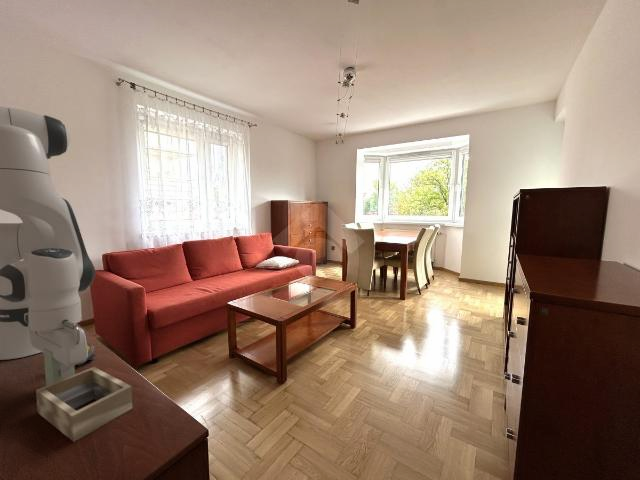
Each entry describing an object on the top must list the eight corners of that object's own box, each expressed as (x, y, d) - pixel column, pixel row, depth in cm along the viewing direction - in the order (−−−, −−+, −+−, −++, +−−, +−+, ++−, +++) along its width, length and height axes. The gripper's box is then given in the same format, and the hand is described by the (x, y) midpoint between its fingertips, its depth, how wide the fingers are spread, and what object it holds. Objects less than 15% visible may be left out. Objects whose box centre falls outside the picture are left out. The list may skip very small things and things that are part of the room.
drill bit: (97, 365, 75) (60, 352, 69) (84, 371, 76) (46, 358, 70) (106, 347, 79) (72, 333, 73) (93, 352, 80) (59, 339, 74)
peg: (46, 388, 64) (43, 348, 63) (67, 379, 67) (65, 341, 67) (53, 393, 62) (51, 352, 61) (75, 384, 66) (73, 345, 65)
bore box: (37, 412, 56) (36, 390, 56) (94, 386, 65) (93, 366, 65) (73, 442, 49) (72, 416, 49) (132, 408, 58) (131, 386, 57)
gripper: (95, 320, 62) (97, 377, 63) (55, 306, 71) (58, 356, 72) (59, 330, 56) (62, 393, 57) (20, 313, 65) (24, 367, 66)
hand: (60, 372), depth 64 cm, fingers closed on peg, 4 cm apart
